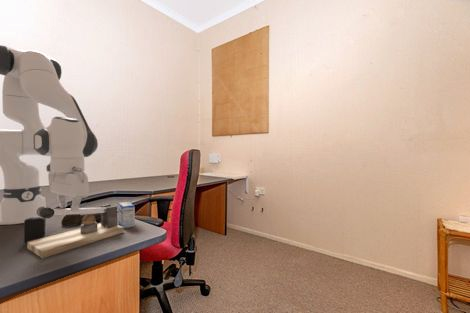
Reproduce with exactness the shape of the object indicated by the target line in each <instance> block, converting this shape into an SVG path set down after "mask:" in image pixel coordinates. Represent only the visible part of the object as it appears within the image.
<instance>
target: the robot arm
mask: <svg viewBox="0 0 470 313" xmlns="http://www.w3.org/2000/svg"><path fill="white" fill-rule="evenodd" d="M0 75H2V76H4V78H3V82H2V92H1V93H2V96H1V97H2V99H1V100H2V113H3V115H4V116H5V117H6V118H8V119H10V120H11V121H13V122H16V123H19V124H21V125H22V126H23V129H5V128H3V129H2V128H0V168H1V171H2V174H3V175H2V176H3V180H4V182H3V184H4V188H3V190H2V197H3V198H2V200H1V201H0V225H4V226H5V225H18V224H24V220H26V219H28V218H32V217H33V218H35V217H41V216H39V215H37V209H38V208H40V207H42V206H45V207H47V206H46V197H44V196H42V188H41V185H40V171H39V170H40V169H39V168H38V167H37V166H35V165H33V164H30V163H27V162H24V161H22V160H21V159H20V157H23V156H45V157H50V162H49V163H48V164H47V165H46V167H45V168H46V172H47V173H48V175H47V177H48V187H49V190H50V193H52V194H56V198H57V201H58V206H59V207H60V208H61V209H63V208H66V207H68V201H67V199H66V197H69V198H71V202H72V204H71V205H70V208H71V211H78V210H79V208H80V204H81V201H82V199H85V198H88V196H89V195H90V184H89V177H88V175H87V174H86V173H85V158H89V157H91V156H92V155H93V154H94V153H95V152H96V151H97V149H98V144H99V142H98V139H97V137H96V135H95V133H94V132H93V131H92V130H91V128H90V127H89V125H88V122H87V120H86V118H85V116H84V114H83V112H82V110H81V108H80V106H79V104H78V102H77V100H76V99H75V97H74V96H73V95H71V93H69V92H68V91H67V90H66V89H65V88H64V87H63V85H62V83H61V82H60V80H61V77H62V66H61V64H60V63H59V61H57V60H56V59H54V58H52V57H50V56H47V55H46V54H45V53H43V52H41V51H38V50H32V49H31V50H23V49H20V48H19V49H18V48H12V47H7V45H0ZM39 104H41V105H44V106H46V107H50V108H52V109H55V110H57V111H58V112H61V113H62V114H63V115H64V116H54V117H52V118H51V121H50V125H48V126H45V125H44V123H43V122H42V120H41V117H40V110H39Z"/></svg>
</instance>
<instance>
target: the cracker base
mask: <svg viewBox="0 0 470 313" xmlns="http://www.w3.org/2000/svg"><path fill="white" fill-rule="evenodd" d="M100 207H107V213H101V220H100V222H99V223H98V221H95V223H94V224H92V225H84V224H83V223H80V224H79V226H80V227H79V228H76V229H71V230H68V231H64V232H61V233H57V234H54V235H52V234H51V235H48V236H45V237H44V238H40V239H37V240H33V241H29V242H27V244H26V245H27V250H29V251H30V252H32V253H33V254H35V255H36V256H39V257H40V258H41V259H44V258H48V257H51V256H54V255H57V254H61V253H63V252H65V251H66V252H67V251H69V250H72V249H76V248H79V247H83V246H85V245H89V244H92V243H95V242H98V241H101V240H103V239H108V238H110V237H113V236H117V235H119V234H123V233H124V228H123V227H122V226H121V225H120V224H119V225H118V205H111V204H109V203H107V204H102V205H100Z"/></svg>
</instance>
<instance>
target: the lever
mask: <svg viewBox="0 0 470 313" xmlns="http://www.w3.org/2000/svg"><path fill="white" fill-rule="evenodd" d="M94 213H107V207H101V206H100V207H79V210H78V211H71V207H70V208H66V207H63V208H50V207H48V206H46V207H45V206H42V207H40V208H38V209H37V215H39V216H41V217H43V218H45V219H50V218H53V216H62V215H63V216H66V215H68V214H80V215H82V214H94Z"/></svg>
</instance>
